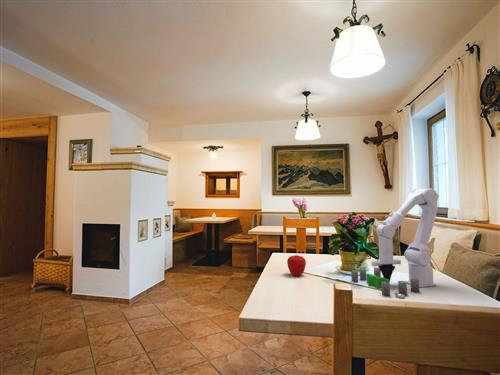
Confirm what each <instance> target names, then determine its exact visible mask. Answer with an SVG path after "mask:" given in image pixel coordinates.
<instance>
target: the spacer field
mask: <svg viewBox="0 0 500 375" xmlns="http://www.w3.org/2000/svg"><path fill="white" fill-rule="evenodd" d="M350 274H351V275H350V276H351V277H350V278H351V282H352V281H354V282H353V283H358V282H359V281H362V280H366V281H367V269H366V268H360V269H359V270H356V269H352V270H351V272H350ZM373 275H375V276H379V277H382V272H381V270H380V269H379V267H374V268H373ZM405 281H406V280H405ZM405 281H404V280H398V281H397V284H398V286H397V288H398V293H403V294H404V295H405V297H406V296H408V288H407V287H408V286H407V284H408V283H407V282H405ZM381 284H382V288H381V295H382V296H383V297H390V296H391V283H389V282H384V281H383V282H381ZM410 291H411V292H412V293H415V294H419V293H420V291H421V290H420V287H419V280H418V279H411V284H410Z"/></svg>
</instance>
